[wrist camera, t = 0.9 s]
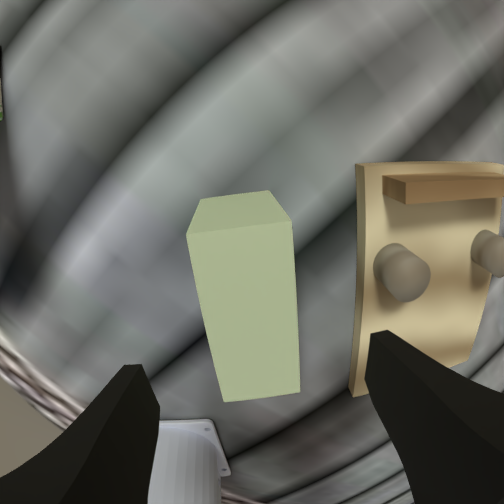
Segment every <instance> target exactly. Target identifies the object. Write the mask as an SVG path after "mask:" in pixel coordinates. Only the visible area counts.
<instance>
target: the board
mask: <svg viewBox="0 0 504 504" xmlns="http://www.w3.org/2000/svg"><path fill="white" fill-rule="evenodd" d="M503 166H504V165H501V164H497V163H492V162H456V161H423V162H384V163H362V164H355V168H356V192H357V278H356V301H355V319H354V333H353V345H352V356H351V366H350V375H349V384H348V387H349V390H350V392H351V394H352V396H353V397H357V396H361V395H365V394H368V393H369V391H368V388H367V386H366V383H365V380H364V378H365V371H366V364H367V357H368V350H369V342H370V333H375V332H379V331H383V330H389V331H391V332H392V333H394V334H396V335H397V336H399V337H400V338H402V339H403V340H405V341H406V342H408V343H409V344H411V345H412V346H414V347H415V348H417V349H418V350H420V351H421V352H423V353H425V354H426V355H428V356H429V357H431V358H432V359H434V360H436V361H437V362H439V363H441V364H442V365H444V366H446V367H447V368H449V367H452V366H454V365H457V364H459V363H462V362H464V361H467V360H468V358H469V355H470V352H471V349H472V346H473V343H474V340H475V337H476V334H477V331H478V327H479V324H480V320H481V317H482V313H483V309H484V305H485V301H486V297H487V293H488V289H489V284H490V280H491V275H492V274H493V275H495V276H496V277H498V278H501V277H503V276H504V238H503V237H501V236H499V235H498V233H499V225H500V216H501V205H502V197H504V175H503Z"/></svg>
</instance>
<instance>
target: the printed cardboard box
mask: <svg viewBox="0 0 504 504" xmlns="http://www.w3.org/2000/svg"><path fill="white" fill-rule="evenodd" d="M2 119H3V108H2V96H1V80H0V121H1V120H2Z"/></svg>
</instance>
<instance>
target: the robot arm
mask: <svg viewBox="0 0 504 504" xmlns="http://www.w3.org/2000/svg"><path fill="white" fill-rule="evenodd" d="M364 380H365V383H366V386H367V388H368V391H369V394H370V397H371V400H372V402H373V405H374V407H375V409H376V411H377V413H378V415H379V417H380V419H381V421H382V423H383V425H384V427H385V429H386V431H387V433H388V435H389V437H390V439H391V440H392V442H393V444H394V446H395V448H396V450H397V452H398V455H399V457H400V459H401V461H402V464H403V467H404V469H405V472H406V475H407V478H408V481H409V485H410V488H411V491H412V495H413V498H414V502H415V504H504V394H503V393H500V392H497V391H495V390H492V389H490V388H487V387H485V386H483V385H480V384H478V383H476V382H474V381H472V380H470V379H468V378H466V377H464V376H462V375H460V374H458V373H456V372H455V371H453V370H451V369H449V368H447V367H446V366H444V365H442V364H441V363H439V362H437V361H436V360H434V359H432V358H431V357H429V356H428V355H426V354H425V353H423V352H421V351H420V350H418V349H417V348H415V347H414V346H412V345H411V344H409V343H408V342H406V341H405V340H403V339H402V338H400V337H399V336H397V335H396V334H394V333H392V332H391V331H389V330H383V331H379V332H375V333H370V342H369V350H368V357H367V364H366V371H365V378H364ZM159 420H160V405H159V403H158V401H157V399H156V397H155V394H154V392H153V390H152V388H151V385H150V383H149V381H148V378H147V376H146V374H145V371H144V369H143V366H142V364H135V365H124V366H123V367H122V368H121V369H120V370H119V371H118V372H117V374H116V375H115V376H114V377H113V378H112V379H111V380H110V382H109V383H108V384H107V385H106V386H105V388H104V389H103V390H102V391H101V392H100V393H99V394H98V396H97V397H96V398H95V399H94V400H93V401H92V402H91V404H90V405H89V406H88V407H87V408H86V409H85V410H84V411H83V412H82V413H81V414H80V415H79V417H78V418H77V419H76V420H75V421H74V422H73V423H72V424H71V425H70V426H69V427H68V428H67V429H66V430H65V431H64V432H63V433H62V434H61V435H60V436H59V437H57V438H56V439H55V440H54V441H53V442H52V443H51V444H49V445H48V446H47V447H46V448H45V449H43V450H42V451H41V452H40V453H38V454H37V455H35V456H34V457H33V458H31V459H30V460H28V461H27V462H25V463H24V464H23V465H21V466H20V467H18V468H17V469H15V470H13V471H11V472H10V473H8V474H6V475H4V476H3V477H1V478H0V504H221V477H222V476H229V475H231V470H230V468H229V465H228V462H227V460H226V457H225V454H224V452H223V449H222V446H221V443H220V441H219V438H218V435H217V432H216V429H215V426H214V423H213V421H212V420H210V419H193V420H165V421H159Z"/></svg>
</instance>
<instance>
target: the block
mask: <svg viewBox="0 0 504 504" xmlns="http://www.w3.org/2000/svg"><path fill="white" fill-rule="evenodd" d="M186 237H187V242H188V248H189V253H190V258H191V263H192V268H193V273H194V278H195V283H196V288H197V292H198V297H199V302H200V306H201V311H202V315H203V320H204V324H205V328H206V333H207V337H208V341H209V345H210V350H211V354H212V358H213V362H214V366H215V370H216V374H217V378H218V382H219V385H220V389H221V393H222V397H223V401H224V402H231V401H241V400H249V399H257V398H265V397H272V396H279V395H285V394H291V393H297V392H300V369H299V340H298V318H297V298H296V280H295V264H294V249H293V235H292V221H291V220H290V218H289V217H288V215H287V214H286V213H285V211H284V210H283V209H282V207H281V206H280V204H279V203H278V202H277V200H276V199H275V198H274V196H273V195H272V194H271V192H270V191H269V190H268V191H259V192H251V193H243V194H235V195H228V196H220V197H213V198H206V199H201V200H200V202H199V204H198V207H197V209H196V212H195V214H194V216H193V219H192V221H191V224H190V226H189V229H188V231H187V234H186Z"/></svg>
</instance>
